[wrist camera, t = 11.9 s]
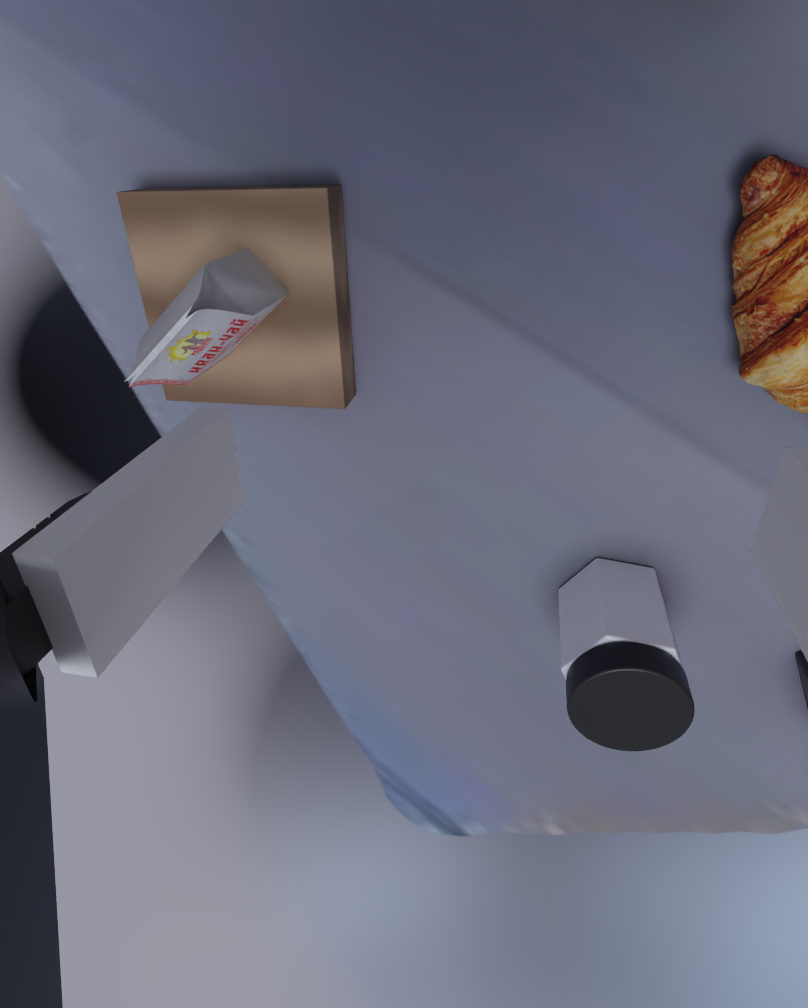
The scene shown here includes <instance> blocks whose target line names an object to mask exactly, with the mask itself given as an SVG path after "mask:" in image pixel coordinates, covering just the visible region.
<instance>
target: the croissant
mask: <svg viewBox="0 0 808 1008" xmlns="http://www.w3.org/2000/svg"><path fill="white" fill-rule="evenodd" d="M740 199H741V202H742V205H743V208H742V209H743V216H744V218H745V220H744V221H743V222H742V224H741V225H740V227H739V229H738V231H737V233H736V235H735V239H734V242H733V246H732V248H731V250H732V265H733V272H734V281H733V290H734V293H735V296H736V302H735V303H734V305H733V306H732V313H733V320H734V324H735V328H736V334H737V338H738V340H739V349H740V357H741V358H742V361H741V363H740V364H741V365H740V367H739V375H740V377H741V379H743V380H744V381H746V382H747V383H749V384H751V385H758V386H761V387H762V388H765V390H766V391H768V392H769V393H770V395H771V396H772V397H773V398H774V399H775V401H777V402H778V403H779V404H784V405H786V406H787V407H789V408H791V409H793V410H795V411H799V412H803V413H807V414H808V168H804V167H800V166H797V165H795V164H794V163H792V162H789V161H787V160H784V159H781V158H780V157H779V156H778V155H776V154H773V155H770V156H768V157H764V158H762V159H761V160H759V161H756V162H755V163H754V164H753V166H752V168H751V171H749V172H748V173H747V174H746V175H745V177H744V179H743V184H742V187H741V188H740Z"/></svg>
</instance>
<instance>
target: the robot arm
mask: <svg viewBox="0 0 808 1008" xmlns="http://www.w3.org/2000/svg"><path fill="white" fill-rule="evenodd" d="M244 501H245V500H244V494H243V488H242V482H241V476H240V470H239V464H238V458H237V452H236V446H235V440H234V434H233V428H232V422H231V416H230V410H229V408H215V407H201V408H199V409H198V410H197V411H195V412H194V413H193V414H192V415H190V416H189V417H188V418H186V419H185V420H184V421H182V422H181V423H180V424H179V425H177V426H176V427H175V428H173V429H172V430H171V431H170V432H168V433H167V434H166V435H164V436H163V437H162V438H161V439H159V440H158V441H157V442H155V443H154V444H153V445H151V446H150V447H149V448H148V449H146V450H145V451H144V452H142V453H141V454H140V455H138V456H137V457H136V458H135V459H133V460H132V461H131V462H129V463H128V464H127V465H126V466H124V467H123V468H122V469H120V470H119V471H118V472H116V473H115V474H114V475H113V476H111V477H110V478H109V479H107V480H106V481H105V482H104V483H102V484H101V485H100V486H98V487H97V488H96V489H94V490H93V491H90V492H88V493H86V494H83V495H81V496H79V497H77V498H75V499H72V500H70V501H68V502H67V503H66V504H64V505H63V506H61V507H60V508H59V509H57V510H56V511H55V512H53V513H52V514H51V515H50V518H48V517H47V518H46V519H44V520H43V521H42V522H40V523H39V524H38V525H36V528H35V529H34V528H32V529H31V530H29V531H28V532H27V533H26V534H24V535H23V536H22V537H20V538H19V539H18V540H16V541H15V542H14V543H12V544H11V545H10V546H8V547H7V548H6V549H4V550H3V551H2V552H0V1008H62V990H61V975H60V955H59V939H58V920H57V903H56V886H55V868H54V851H53V833H52V816H51V798H50V781H49V764H48V746H47V729H46V712H45V694H44V677H43V675H42V673H41V670H40V668H39V666H38V663H39V662H40V660H41V659H42V658H43V657H44V656H45V655H46V654H47V653H48V652H49V651H50V650H51V649H52V650H53V653H54V655H55V658H56V660H57V663H58V665H59V667H60V670H61V672H64V673H70V674H76V675H83V676H90V677H95V678H98V677H99V676H100V674H101V673H102V672H103V671H104V670H105V668H106V667H107V666H108V665H109V664H110V662H111V661H112V660H113V659H114V658H115V656H116V655H117V654H118V653H119V652H120V650H121V649H122V648H123V647H124V646H125V644H126V643H127V642H128V641H129V639H130V638H131V637H132V636H133V635H134V634H135V632H136V631H137V630H138V629H139V627H140V626H141V625H142V624H143V623H144V622H145V620H146V619H147V618H148V617H149V616H150V614H151V613H152V612H153V611H154V610H155V608H156V607H157V606H158V604H160V602H161V601H162V600H163V599H164V597H165V596H166V595H167V594H168V593H169V591H170V590H171V589H172V588H173V587H174V585H175V584H176V583H177V582H178V581H179V579H180V578H181V577H182V576H183V575H184V573H185V572H186V571H187V570H188V569H189V567H190V566H191V565H192V564H193V563H194V561H195V560H196V559H197V558H198V556H199V555H200V554H201V553H202V552H203V551H204V549H205V548H206V547H207V546H208V545H209V543H210V542H211V541H212V540H213V539H214V537H215V536H216V535H217V534H218V533H219V531H220V530H221V529H222V528H223V527H224V525H225V524H226V523H227V522H228V521H229V519H230V518H231V517H232V516H233V515H234V513H235V512H236V511H237V510H238V509H239V507H240V506H241V505H242V504H243V503H244ZM750 551H751V553H752V555H753V557H754V559H755V560H756V562H757V564H758V566H759V568H760V570H761V572H762V574H763V576H764V578H765V580H766V582H767V584H768V586H769V588H770V590H771V592H772V594H773V596H774V597H775V599H776V601H777V603H778V605H779V607H780V609H781V611H782V613H783V615H784V617H785V619H786V621H787V623H788V625H789V627H790V629H791V631H792V633H793V634H794V636H795V638H796V640H797V642H798V644H799V646H800V648H801V650H802V652H803V654H804V656H805V658H806V660H807V662H808V449H806V448H791V447H786V448H785V451H784V454H783V457H782V460H781V463H780V466H779V468H778V471H777V474H776V477H775V480H774V483H773V486H772V489H771V491H770V494H769V497H768V500H767V503H766V506H765V509H764V512H763V514H762V517H761V520H760V523H759V526H758V529H757V532H756V535H755V538H754V540H753V543H752V546H751V549H750Z"/></svg>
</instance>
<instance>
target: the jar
mask: <svg viewBox="0 0 808 1008" xmlns="http://www.w3.org/2000/svg"><path fill="white" fill-rule="evenodd" d="M558 604H559V632H560V659H561V671H562V673H563V675H564V678H565V680H566V697H567V711H568V715H569V718H570V720H571V722H572V724H573V725H574V727H575V728H576V729H577V730H578V731H579V732H580V733H581V734H582V735H583V736H585V737H586V738H587V739H589V740H591V741H593V742H595V743H597V744H599V745H601V746H604V747H607V748H611V749H616V750H622V751H645V750H651V749H656V748H659V747H662V746H665V745H667V744H670V743H671V742H673V741H675V740H676V739H678V738H679V737H681V736H682V735H683V734H684V733H685V732H686V731H687V729H688V728H689V726H690V725H691V723H692V721H693V717H694V703H693V699H692V695H691V691H690V688H689V684H688V680H687V677H686V674H685V671H684V669H683V665H682V661H681V657H680V654H679V650H678V646H677V643H676V639H675V635H674V632H673V628H672V624H671V620H670V617H669V613H668V609H667V606H666V603H665V600H664V597H663V594H662V590H661V587H660V584H659V581H658V578H657V575H656V572H655V569H654V568H651V567H645V566H639V565H634V564H628V563H623V562H618V561H612V560H607V559H602V558H596V559H595V560H593V561H592V562H591V563H590V564H588V565H587V566H586V567H585V568H584V569H582V570H581V571H580V572H579V573H577V574H576V575H575V576H574V577H573V578H571V579H570V580H569V581H568V582H567V583H565V584H564V585H563V586H562V587H560V588H559V589H558Z"/></svg>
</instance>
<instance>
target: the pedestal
mask: <svg viewBox="0 0 808 1008" xmlns="http://www.w3.org/2000/svg"><path fill="white" fill-rule="evenodd" d="M117 196H118V200H119V204H120V208H121V212H122V217H123V221H124V225H125V229H126V233H127V237H128V242H129V246H130V250H131V254H132V258H133V263H134V267H135V271H136V275H137V279H138V283H139V288H140V292H141V296H142V300H143V304H144V309H145V313H146V317H147V321H148V325H149V328H150V327H151V326H152V325H153V324H154V322H155V321H156V320H157V319H158V318H159V317H160V315H161V314H162V313H163V312H164V311H165V310H166V309H167V307H168V306H169V305H170V304H171V303H172V302H173V300H174V299H175V298H176V297H177V296H178V295H179V293H180V292H181V291H182V290H183V289H184V288H185V286H186V285H187V284H188V283H189V282H190V281H191V279H192V278H193V277H194V276H195V275H196V274H197V272H198V271H199V270H200V269H201V268H202V267H203V265H204V264H205V263H207V262H210V261H213V260H216V259H219V258H221V257H224V256H227V255H230V254H233V253H235V252H238V251H241V250H244V249H247V248H250V250H251V251H252V252H253V253H254V254H255V255H256V256H257V258H258V259H259V260H260V261H261V262H262V263H263V264H264V266H265V267H266V268H267V269H268V270H269V271H270V272H271V274H272V275H273V276H274V277H275V278H276V279H277V281H278V282H279V283H280V284H281V285H282V286H283V287H284V289H285V290H286V291H287V292H288V293H289V295H288V296H287V297H286V298H285V299H284V300H283V301H282V302H281V303H280V304H279V305H278V306H277V307H276V308H275V309H274V310H273V311H272V312H271V313H270V314H269V315H268V316H267V317H266V318H265V319H264V320H263V321H262V322H261V323H260V324H259V325H258V326H257V327H256V328H255V329H254V330H253V331H252V332H251V333H250V334H249V335H248V336H247V337H246V338H245V339H244V340H243V341H242V342H241V343H240V344H239V345H238V346H237V347H236V348H235V349H234V350H233V352H232V353H231V354H230V355H229V356H228V357H226V358H225V359H223V360H222V361H220V362H219V363H217V364H216V365H214V366H213V367H211V368H210V369H208V370H207V371H205V372H204V373H202V374H201V375H200V376H198V377H197V378H195V379H194V380H192V381H191V382H189V383H188V384H186V385H181V384H163V388H164V392H165V396H166V400H172V401H193V402H213V403H233V404H253V405H274V406H294V407H314V408H335V409H345V408H346V407H347V406H348V404H349V403H350V401H351V400H352V399H353V397H354V396H355V395H356V390H355V376H354V361H353V347H352V333H351V319H350V304H349V290H348V276H347V262H346V247H345V233H344V219H343V205H342V190H341V185H321V186H271V187H220V188H169V189H139V190H130V191H121V192H117Z"/></svg>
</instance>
